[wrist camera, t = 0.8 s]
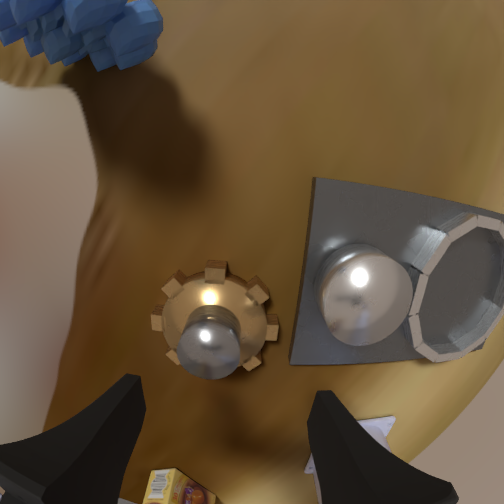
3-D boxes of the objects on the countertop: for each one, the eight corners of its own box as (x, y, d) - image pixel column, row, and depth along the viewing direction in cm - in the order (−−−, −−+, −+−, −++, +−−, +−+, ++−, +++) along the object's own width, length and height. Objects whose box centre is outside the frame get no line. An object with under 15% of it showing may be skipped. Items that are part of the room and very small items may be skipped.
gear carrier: (476, 344, 22) (497, 364, 18) (288, 356, 21) (295, 391, 17) (512, 217, 18) (542, 226, 14) (312, 176, 17) (330, 179, 14)
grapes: (215, 19, 14) (184, -110, 3) (173, 104, 16) (67, 26, 4) (83, 4, 13) (-3, -60, 1) (45, 77, 15) (-69, 47, 3)
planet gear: (269, 368, 21) (273, 409, 17) (161, 358, 21) (146, 396, 17) (282, 265, 19) (292, 293, 15) (155, 255, 19) (130, 280, 14)
